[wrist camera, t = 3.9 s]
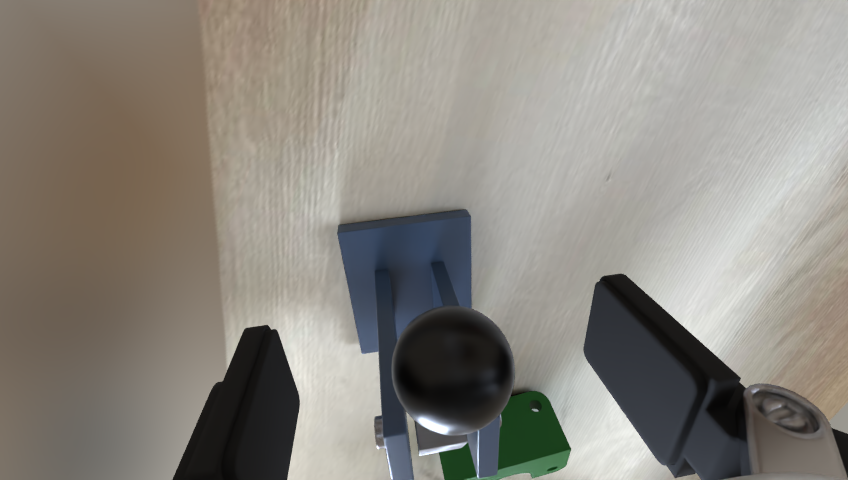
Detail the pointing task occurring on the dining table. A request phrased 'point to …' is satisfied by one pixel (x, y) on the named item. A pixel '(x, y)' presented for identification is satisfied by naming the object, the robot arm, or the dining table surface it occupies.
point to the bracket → (409, 309)
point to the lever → (452, 375)
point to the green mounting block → (518, 442)
